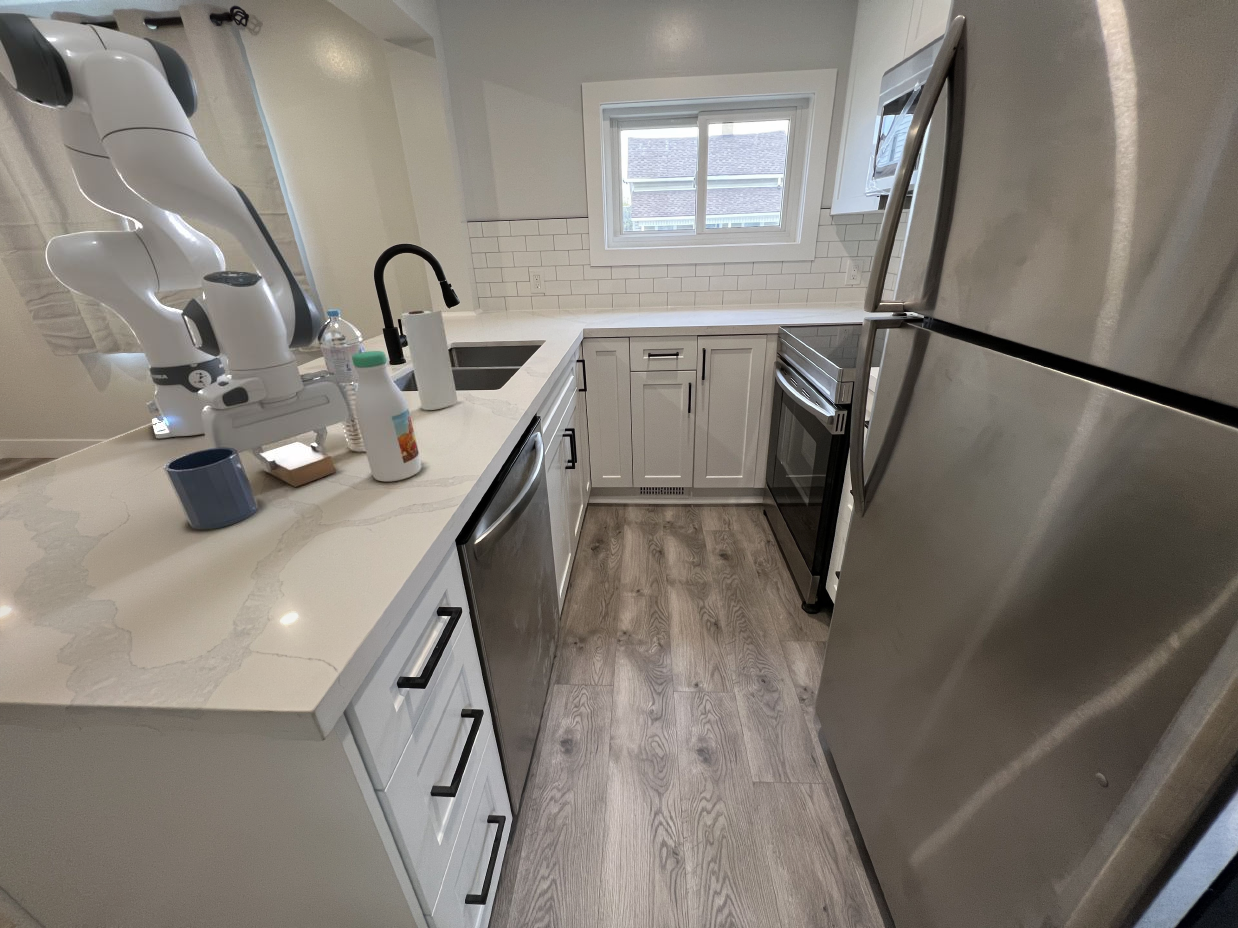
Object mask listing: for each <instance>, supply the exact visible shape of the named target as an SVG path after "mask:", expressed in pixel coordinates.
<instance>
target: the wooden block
mask: <svg viewBox="0 0 1238 928" xmlns="http://www.w3.org/2000/svg"><path fill="white" fill-rule="evenodd" d="M260 454H261V455H262V456H263V457H265V458H269V457H271V458H272V459H275V462H276V466H277V469H275V470H272V471H270V472H267V473H269V474H271V475H272V476H273V477H276V478H278V479H280V480H282V481H283V482H285V483H287V484H289V485H291V486H293V487H294V488H297V487H300V486H302V485H305V484H308V483H311V482H313V481H315V480H316V481H317V480H319V479H321V478H324V477H327V476H329V475H331V474H334V473H337V470H336V467H335V464H334V461H333V457H332V455H330V454H327V453H326V452H325V453H323V452H320V451H318V450H315V449H313V448H311V446H310V445H306V444H304V443H301V442H300V441H296V442H293V443H290V444H287V445H283V446H280V447H277V448H274V449H270V450H268V451H263V453H260ZM260 464H261V466H262V463H261V462H260ZM262 470H264V468H263V466H262Z"/></svg>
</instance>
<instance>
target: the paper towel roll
mask: <svg viewBox="0 0 1238 928" xmlns="http://www.w3.org/2000/svg"><path fill="white" fill-rule="evenodd" d="M401 318H402V322H403V327H404V332H405V336H406V342H407V346H408V351H409V355H410V360H411V364H412V370H413V374H414V377H415V384H416V388H417V392H418V396H419V401H420V405H421V409H422V410H424V411H425V410H426V411H435V410H441V409H444V408H447V407H451V405H453V404H457V403H458V402H459V400H458V396H457V391H456V385H455V379H454V373H453V368H452V363H451V357H450V351H449V346H448V342H447V336H446V329H445V325H444V324H445V323H444V319H443V313H442V311H441V310H436V311H430V310H415V311H408V312H404V313H401Z"/></svg>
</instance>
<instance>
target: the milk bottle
mask: <svg viewBox="0 0 1238 928" xmlns="http://www.w3.org/2000/svg"><path fill="white" fill-rule="evenodd" d="M352 360H353V363H354V366H355V370H357V372H358V388H357V393H356V398H355V410H356V416H357V420H358V424H359V428H360V432H361V436H362V440H363V443H364V447H365V454H366V457H367V460H368V465H369V468H370V471H371V475H372V477H373V478H374V480H377V481H380V482H396V481H397V482H398V481H402V480H405V479H408V478H411V477H412V476H413V477H414V475H416V474H418V473H419V472H420V471H421V468H422V460H421V457H420V452H419V448H418V442H417V438H416V435H415V429H414V426H413V422H412V418H411V413H410V410H409V406H408V403H407V400H406V398H405V396H404V394H403V392H402V390H401V389H400V388H399V386H397V384H396V383H395V382H394V380H393V379H392V377H391V375H390V373H389V371H388V366H389V364H388V362H387V356H386V353H385V352H384V351H381V350H370V351H369V350H368V351H365V352H361V353H357V354H355V355H353V356H352Z"/></svg>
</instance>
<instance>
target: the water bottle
mask: <svg viewBox="0 0 1238 928" xmlns="http://www.w3.org/2000/svg"><path fill="white" fill-rule="evenodd" d="M340 313H341V312H340V309H329V310H326V314H327V317H328V320H327V321H326V322H325V323H324V325H323V326H321V330H320V332H319V334H318V336H317V342H318V345H319V347H320V349H321V352H322V356H323V360H324V364H325V367H326V370H327V371H329V372H333V373H334V375H336V378H337V382H338V388H339V390H340V392H341V394H342V396H343V398H344V400H345V402H346V405H347V408H348V411H349V416H348V419H347V420H346V421H344V422H341V425H342V429H343V433H344V435H345V439H346V442H347V445H348V448H349V450H351V451H352V452H357V453H366V451H365V447H364V443H363V440H362V436H361V432H360V428H359V424H358V420H357V416H356V410H355V398H356V393H357V388H358V372H357V370H355V366H354V363H353V360H352V356H353V355H355V354H357V353H361V352H366V351H365V347H364V343H363V342H364V339H363V335H362V333H361V332H360V331H359V329H357V327H356V326H354V325H353V324H352V323H350V322H348V321H346V320H345V319H342V318H341V314H340ZM328 375H331V374H328Z"/></svg>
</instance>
